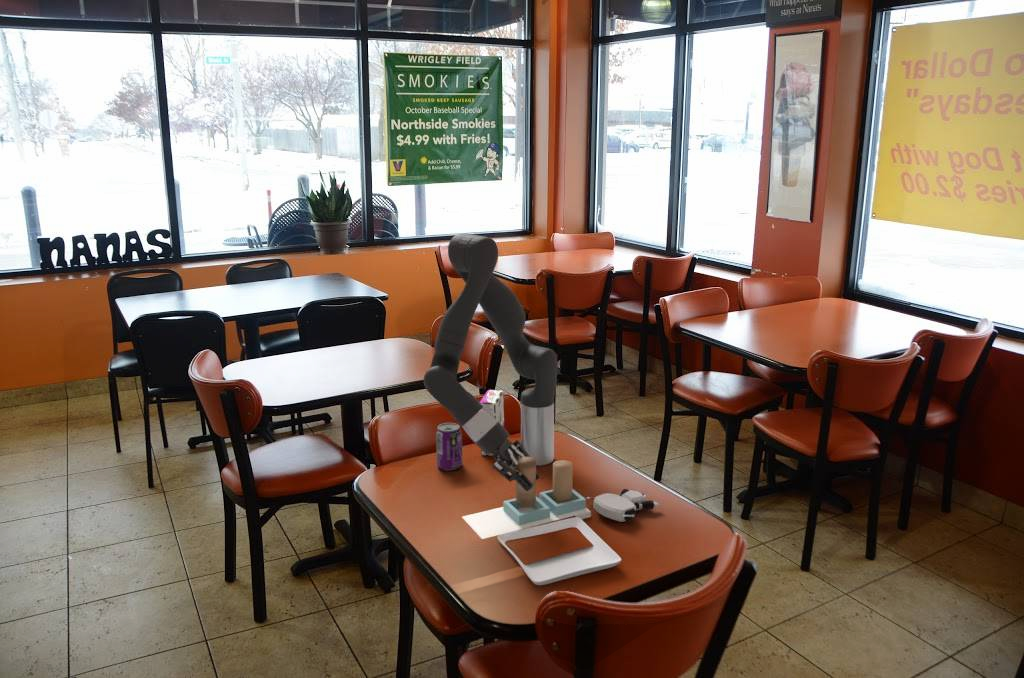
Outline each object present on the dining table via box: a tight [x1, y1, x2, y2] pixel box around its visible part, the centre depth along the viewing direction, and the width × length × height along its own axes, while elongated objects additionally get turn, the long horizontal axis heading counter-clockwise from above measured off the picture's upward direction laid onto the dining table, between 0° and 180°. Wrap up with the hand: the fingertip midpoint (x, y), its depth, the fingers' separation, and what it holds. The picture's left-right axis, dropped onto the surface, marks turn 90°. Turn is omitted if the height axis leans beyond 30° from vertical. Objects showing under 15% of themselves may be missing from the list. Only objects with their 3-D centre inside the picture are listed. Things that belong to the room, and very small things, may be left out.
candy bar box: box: [479, 389, 505, 457], centre depth 237 cm, size 11×5×16 cm, turn 168°
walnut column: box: [515, 457, 537, 508], centre depth 195 cm, size 5×5×11 cm
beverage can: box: [435, 422, 464, 471], centre depth 226 cm, size 7×7×12 cm
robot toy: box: [586, 488, 660, 523], centre depth 200 cm, size 12×4×15 cm
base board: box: [461, 459, 592, 540], centre depth 196 cm, size 12×29×12 cm, turn 116°
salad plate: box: [497, 516, 622, 586], centre depth 180 cm, size 21×21×3 cm
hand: (533, 483), depth 194 cm, fingers closed on walnut column, 4 cm apart
